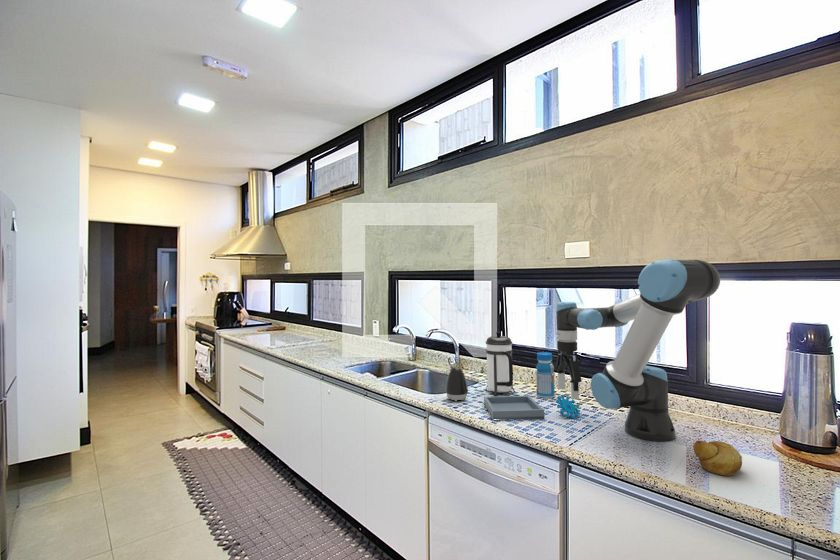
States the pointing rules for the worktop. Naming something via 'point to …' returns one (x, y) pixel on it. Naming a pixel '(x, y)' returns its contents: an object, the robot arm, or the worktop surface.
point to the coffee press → (499, 364)
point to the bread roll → (718, 457)
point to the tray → (513, 407)
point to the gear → (567, 406)
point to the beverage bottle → (545, 375)
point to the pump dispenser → (456, 384)
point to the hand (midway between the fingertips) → (567, 393)
